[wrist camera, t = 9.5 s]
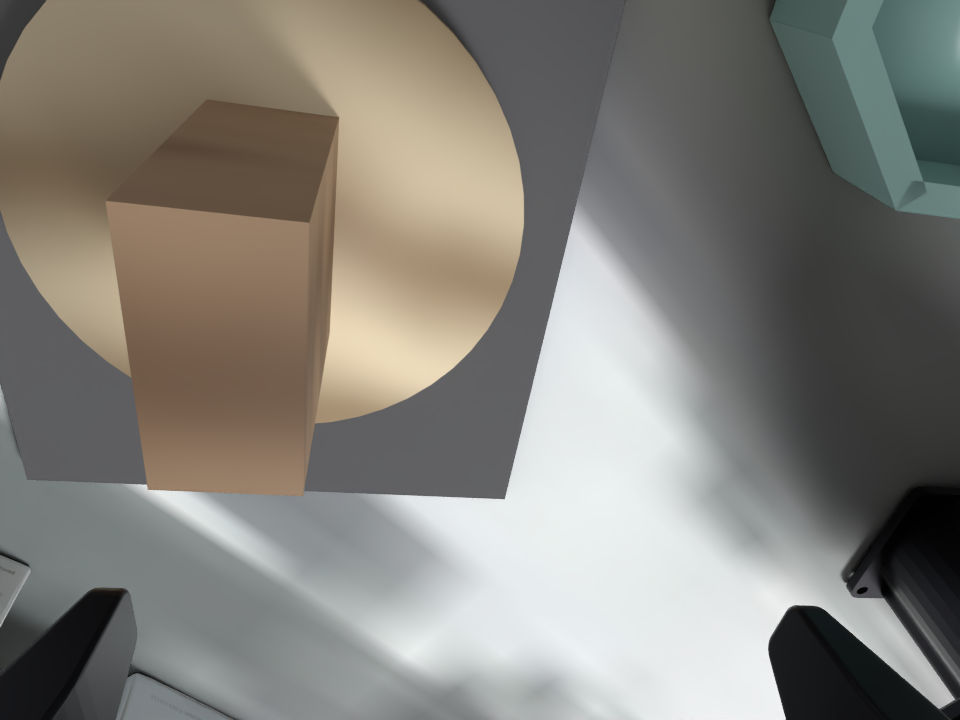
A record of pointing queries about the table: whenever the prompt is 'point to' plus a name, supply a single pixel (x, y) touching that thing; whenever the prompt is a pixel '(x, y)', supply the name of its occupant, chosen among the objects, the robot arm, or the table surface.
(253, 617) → the table surface
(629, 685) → the table surface
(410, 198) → the lid
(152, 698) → the tea box
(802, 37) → the bowl
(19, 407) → the mat
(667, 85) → the table surface
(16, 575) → the supplement box
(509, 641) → the table surface
